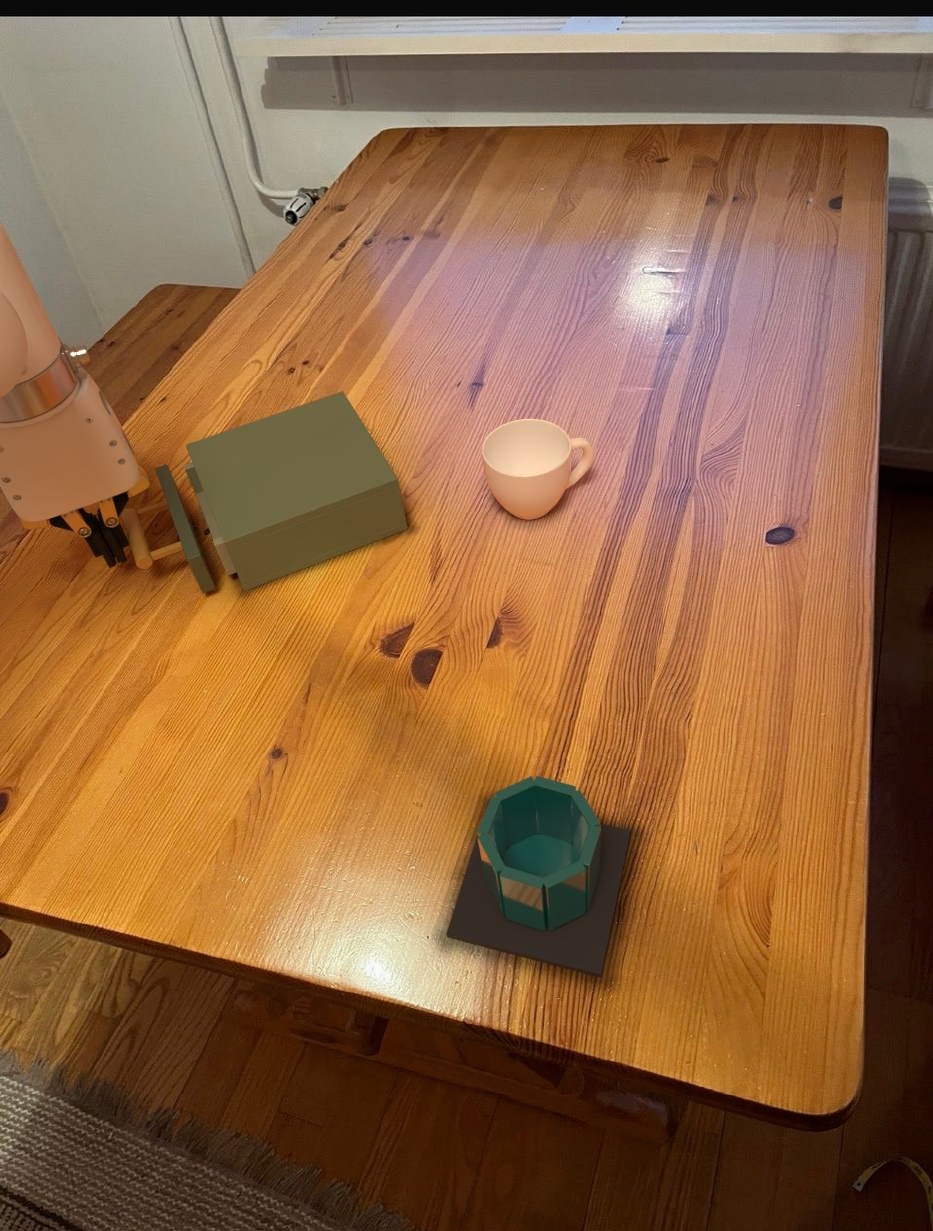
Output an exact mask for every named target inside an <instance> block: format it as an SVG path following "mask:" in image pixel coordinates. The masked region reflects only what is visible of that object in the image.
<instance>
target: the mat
mask: <svg viewBox="0 0 933 1231" xmlns="http://www.w3.org/2000/svg"><path fill="white" fill-rule="evenodd" d="M489 801H490V798H489V799H488V800H487V803H486V806H485V810H484V812H485V811H486V808H487V806H488V803H489ZM600 828H601V846H600V875H599V878H598V881H597V884H596V888H595V891H594V894H593V898H592V901H591V904H590V908H589V910H587V909H586V912H585V914H583V915H581V916H579V917H577V918H575V919H573V920H571V921H569V922H567V923H565V924H563V925H561V926H559V927H557V928H555V929H553V930H551V931H549V930H548V928H547V927H546V930H545V931H542V930H539V929H536V928H532V927H529V926H526V925H523V924H520V923H517V922H514V921H511V920H508V919H506V914H505V915H502V914H501V912H500V910H499V908H498V906H497V904H496V902H495V900H494V898H493V896H492V894H491V892H490V890H489V888H488V886H487V884H486V881H485V876H484V870H483V865H482V859H481V854H480V848H479V843H478V834H477V835H476V838H475V842H474V845H473V848H472V851H471V855H470V857H469V861H468V864H467V866H466V870H465V874H464V876H463V880H462V883H461V886H460V890H459V892H458V895H457V899H456V901H455V902H456V903H455V906H454V909H453V911H452V915H451V918H450V921H449V924H448V927H447V930H446V937H447V938H449V939H452V940H456V941H459V942H464V943H467V944H471V945H475V946H478V947H483V948H487V949H490V950H495V951H498V952H502V953H505V954H509V955H513V956H517V957H520V958H525V959H528V960H532V961H536V962H539V963H543V964H547V965H551V966H554V967H559V968H563V969H567V970H570V971H574V972H578V973H582V974H585V975H589V976H593V977H597V978H602V976H603V971H604V966H605V961H606V956H607V951H608V947H609V941H610V937H611V931H612V928H613V927H612V926H613V921H614V917H615V912H616V911H615V910H616V907H617V903H618V897H619V892H620V886H621V883H622V878H623V873H624V869H625V868H624V867H625V863H626V858H627V853H628V848H629V843H630V838H631V829H627V828H623V827H618V826H615V825H609V824H605V823H600ZM537 834H540V833H537ZM537 834H535V835H537ZM569 843H571V842H569ZM571 844H572V843H571ZM572 845H573V844H572ZM509 847H510V846H509ZM509 847H507V849H508V848H509ZM507 849H506V850H507Z"/></svg>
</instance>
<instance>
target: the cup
mask: <svg viewBox="0 0 933 1231" xmlns="http://www.w3.org/2000/svg"><path fill="white" fill-rule="evenodd" d="M579 449H582V456H581V459H580V460H579V462H578V464H576V466H575V467H574V468H573V469H572V458H573V457H572V456H573V454H572V453H573V452H574V451H576V450H579ZM481 456H482V464H483V466H482V467H483V472H484V477H485V480H486V483H487V486H488V488H489V490H490V493H491V494H492V496H493V497H494V498H495V499H496V501H497V502H498V503H499V504H500V506H501V507H502V508H504V509H505V511H507V512H508V513H509V514H511V516H513V517H515V518H516V519H520V520H526V521H527V520H536V519H540V518H542V517H545V515H547V514H548V513H549V512H551V510H553V509H554V507H555V506H556V505H557V504H558V502H559V501H560V500H561V499H562V496H564V493H565V491H566V490H567V489H569V488H571V487H572V486H573V485H575V484H576V483H577V482H578V481H579V480H581V478H582V477H583V476H584V475H585V474H586V473H587V472H588V470H589V468H590V467H591V465H592V463H593V460H594V450H593V446H592V444H591V443H590V441H589V440H588V439H587V438H585V437H582V436H581V437H580V436H578V437H572V438H571V437H570V435H569V434H568V433H567V432H566V431H565V430H564V428H562V427H561V426H559V425H558V424H555V423H554V422H551V421H548V420H544V419H540V418H539V419H538V418H522V419H521V418H520V419H516V420H511V421H507V422H506V423H503V424H501V425H499V426H497V427H496V428H494V429H493V430H491V431H490V432H489V433H488V434H487V435H486V437H485V438H484V440H483V443H482V446H481Z"/></svg>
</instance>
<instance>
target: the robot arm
mask: <svg viewBox="0 0 933 1231" xmlns="http://www.w3.org/2000/svg"><path fill="white" fill-rule="evenodd" d="M25 268H26V267H25V266H24V264H23V262H22V260H21V258H20V256H19V254H18V252H17V250H16V248H15V245H14V244H13V242H12V240H11V238H10V236H9V234H8V232H7V230H6V228H5V226H4V224H3V222H2V221H1V220H0V489H1V490H2V492H3V494H4V496H5V498H6V500H7V502H8V504H9V505H10V507H11V508H12V510H13V512H14V513H15V514H16V515H17V516H18V517H19V521H20V524H21V528H22V529H23V530H27V531H31V530H37V529H44V528H49V526H52V527H54V528H58V529H62V530H66V531H69V532H73V533H74V534H76V536H78V537H79V538H84V540H85V542H86V543H87V545H88V547H89V548H90V551H91V552H92V554H93V556H94V557H95V558H99V557H103V559H104V561H105V563H106V565H107V567H108V568H109V569H110V568H112V567H116V565H117V564H118V563H120V564H124V563H127V562H128V559H127V556H126V552H125V549H124V548H127V547H131V545H130V542H129V539H128V535H127V533H126V532H125V530H124V528H123V526H122V524H121V522H120V516H121V515H122V513H123V511H124V510H125V507H126V506H127V504H128V502H129V500H130V499H131V498H134V497H135V496H137V495H139V494H141V493H142V492H144V491H146V490H147V489H148V488H150V487H151V481H150V478H149V475H148V473H147V472H146V471H145V469H144V468H143V467H142V466H141V465H140V464H139V463H138V462H137V460H136V458H135V452H134V449H133V447H132V445H131V443H130V440H129V438H128V436H127V434H126V432H125V430H124V428H123V426H122V425H121V423H120V421H119V419H118V417H117V415H116V414H115V412H114V410H113V408H112V406H111V405H110V403H109V401H108V400H107V398H106V396H105V395H104V393H103V392H102V390H101V388H100V387H99V385H98V384H97V383H96V381H95V380H94V379H93V377H92V376H91V375H90V374H89V373H88V371H87V370H86V369H85V368H84V367H83V365H87V364H89V363H92V358H91V356H90V354H89V352H88V349H87V346H86V345H85V344H81V345H78V346H74V345H72V346H68V344H67V343H63V341H62V340H61V338H60V335H59V336H58V333H57V332H56V330H55V328H54V326H53V324H52V321H51V320H50V318H49V316H48V313H47V312H46V310H45V307H44V305H43V303H42V301H41V299H40V297H39V296H38V293H37V291H36V289H35V287H34V285H33V283H32V280H31V278H30V277H29V274H28V272H27V271H26V269H25ZM96 503H97V505H98V508H97V511H96V512H97V513H96V514H93V512H88V511H87V510H86V508H85V507H88V506H90V505H93V504H96Z"/></svg>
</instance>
